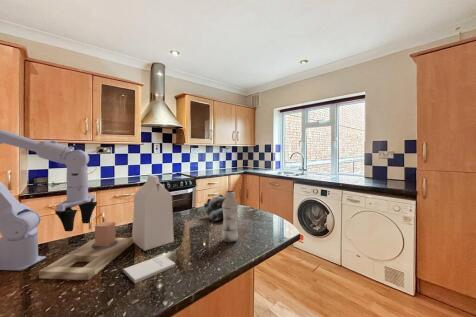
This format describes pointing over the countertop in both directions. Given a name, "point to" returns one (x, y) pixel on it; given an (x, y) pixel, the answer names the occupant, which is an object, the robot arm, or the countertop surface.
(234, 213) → the plastic bottle
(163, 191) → the milk
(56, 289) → the countertop surface
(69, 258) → the pocket board
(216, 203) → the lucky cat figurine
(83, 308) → the countertop surface
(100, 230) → the terracotta block
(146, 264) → the external hard drive
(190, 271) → the countertop surface
